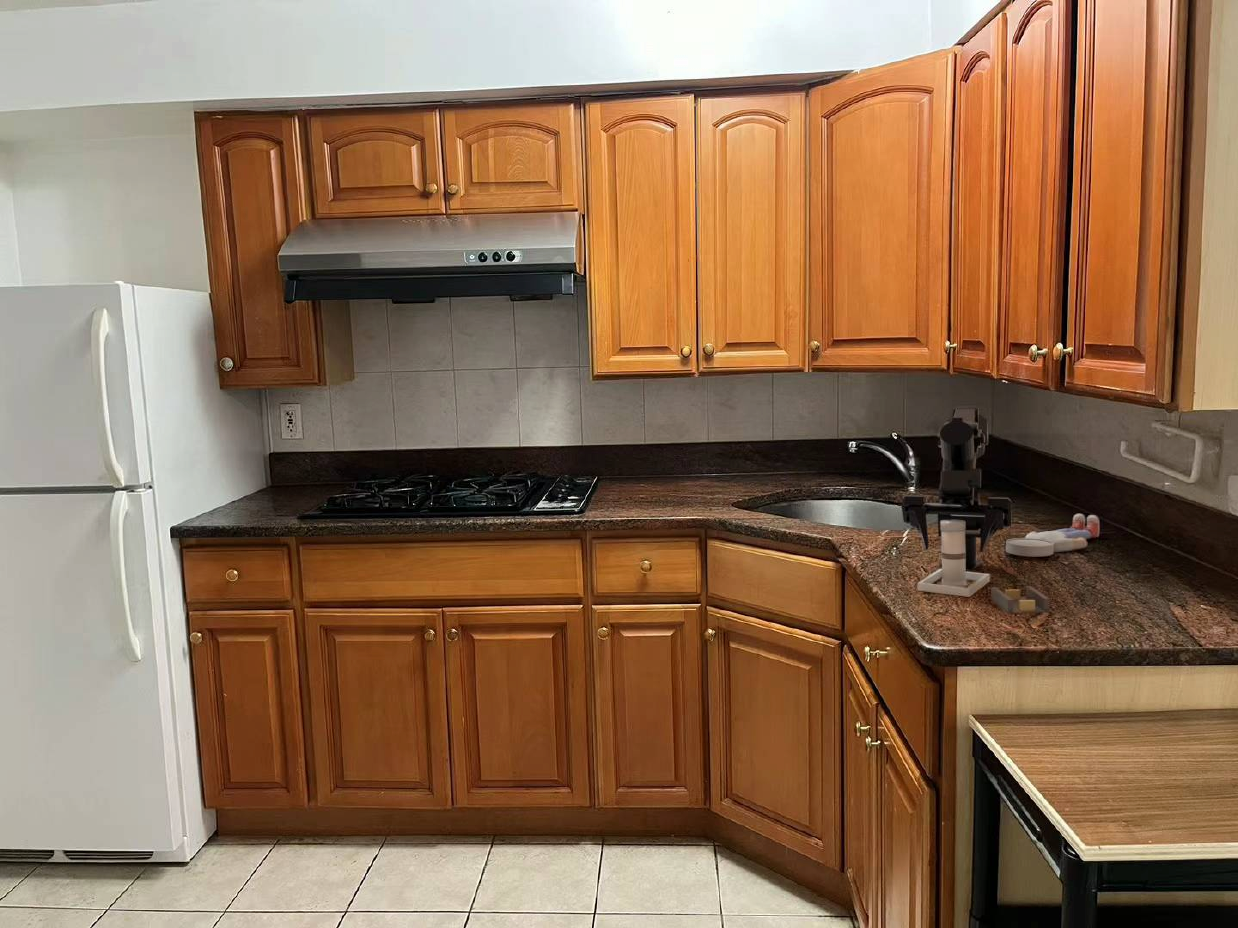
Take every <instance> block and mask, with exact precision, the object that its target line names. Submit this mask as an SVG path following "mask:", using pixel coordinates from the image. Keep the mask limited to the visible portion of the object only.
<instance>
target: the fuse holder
mask: <svg viewBox="0 0 1238 928" xmlns="http://www.w3.org/2000/svg"><path fill="white" fill-rule="evenodd" d="M990 590H991V592H990V595H991V596H990V597H988V598H989V600H991V601H992V602H993V603H994V604H996V605H997V606H998V607H999V608H1000V609H1002V610H1004V612H1006V613H1007V614H1012V613H1013V614H1017V613H1020V614H1021V613H1022V614H1023V613H1025V614H1026V613H1052V612H1053V611H1052V610H1051V609H1050V600H1051V599H1050V598H1049V596H1046V594H1044V593H1042V592H1040V591H1039V590H1037V589H1036V588H1035V587H1033V586H1031V585H1029V586H1028V585H1026V586H1025V596H1021V589H1017V588H1013V589H1004V592H1003V590H1001V589H999V588H998V587H997V586H991V588H990Z"/></svg>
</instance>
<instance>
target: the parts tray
mask: <svg viewBox="0 0 1238 928" xmlns="http://www.w3.org/2000/svg"><path fill="white" fill-rule="evenodd" d="M940 579H942V568H939V569H937V570H935V571H934V572H933V573H931V574H929V575H927V576H926V577H924V579H922V580H920V581H918V582H917V585H916V586H917V591H919V592H927V593H934V594H941V595H942V594H944V595H951V596H960V597H967V598H968V597H969V598H970V597H971V596H972V595H973V594H975V593H977V591H979V590H980V589H982V588H983V587H984V586H985V585H987V584H988V583H990V579H991V575H990V573H983V572H982V573H981V572H973V571H966V579H967V581H974V582H972V583H971V584H970V585H969V586H967V587H966V588H963V587H954V586H946V585H942V584H936V583H935V582H936V581H938V580H940Z"/></svg>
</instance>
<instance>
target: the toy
mask: <svg viewBox="0 0 1238 928" xmlns="http://www.w3.org/2000/svg"><path fill="white" fill-rule="evenodd" d="M1085 524H1086V526H1085ZM1099 536H1100V519H1099V517H1098V516H1097V515H1096V514H1095V515H1094V514H1089V515H1088V516H1087V517H1085V515H1084V514H1082V513H1076V514H1073V517H1072V525H1071V526H1069V528H1061V529H1059V528H1058V529H1056V530H1050V531H1046V530H1045V531H1040V532H1037V531H1030V532H1029V533H1027V534H1026V536H1025V537H1017V538H1009V539H1007V540H1006V541H1005V552H1007V553H1008V554H1011V555H1014V556H1022V557H1034V558H1035V557H1048V556H1052V555H1053V554H1054V553H1060V552H1070V551H1073V550H1074V551H1075V550H1080V549H1084V548H1086V547H1088V541H1087V540H1090V539H1094V538H1095V539H1097V538H1099ZM1096 537H1097V538H1096Z"/></svg>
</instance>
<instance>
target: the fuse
mask: <svg viewBox="0 0 1238 928" xmlns="http://www.w3.org/2000/svg"><path fill="white" fill-rule="evenodd" d="M940 527H941V536H940V537H941V538H940V539H941V550H940V551H941V553H940V555H941V563H942V567H941V569H942V577H941V585H946V586H954V587H963V588H967V587H968V586H967V583H968V582H967V581H968V580H967V579H966V572H967V571H966V570H967V569H966V559H965V558H966V552H965V521H964V520H956V519H950V520H942V521H940Z"/></svg>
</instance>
